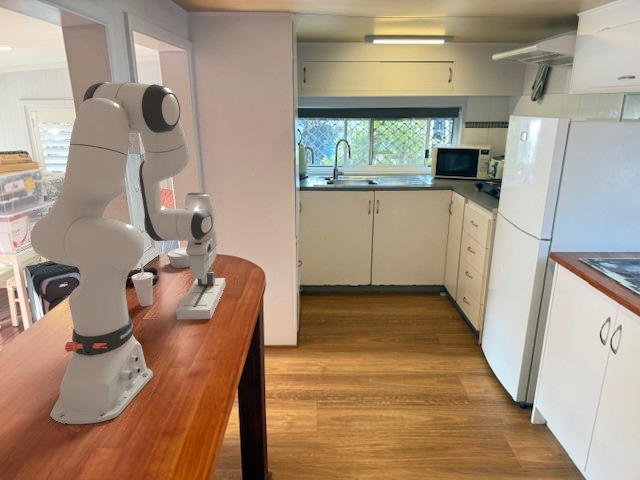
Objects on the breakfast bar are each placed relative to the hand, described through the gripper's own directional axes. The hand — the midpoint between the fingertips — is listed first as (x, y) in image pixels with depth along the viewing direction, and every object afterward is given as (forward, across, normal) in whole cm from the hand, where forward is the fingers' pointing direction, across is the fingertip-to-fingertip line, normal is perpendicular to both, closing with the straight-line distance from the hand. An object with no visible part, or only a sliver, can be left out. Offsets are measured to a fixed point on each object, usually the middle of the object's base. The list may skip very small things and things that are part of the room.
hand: (206, 280), depth 144 cm
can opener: (+5, -9, -29) cm, 31 cm away
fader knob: (+1, 0, 0) cm, 1 cm away
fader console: (+5, +6, 0) cm, 8 cm away
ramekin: (+5, -28, -16) cm, 33 cm away
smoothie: (+5, +7, -18) cm, 20 cm away
